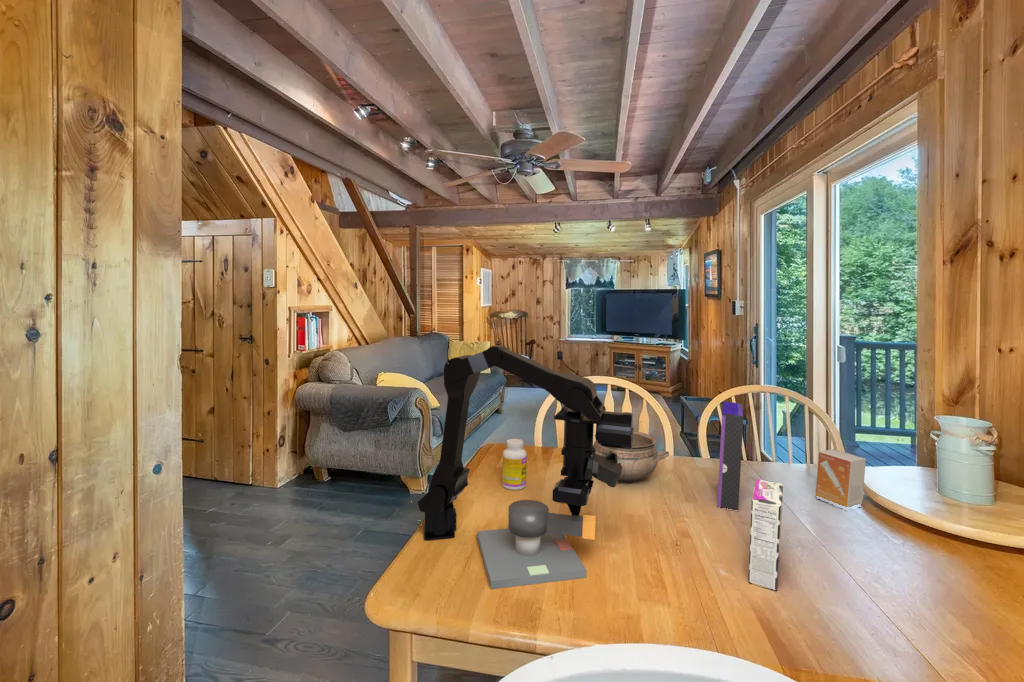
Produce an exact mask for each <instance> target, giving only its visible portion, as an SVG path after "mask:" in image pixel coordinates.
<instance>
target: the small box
mask: <svg viewBox="0 0 1024 682" xmlns="http://www.w3.org/2000/svg"><path fill="white" fill-rule="evenodd" d="M866 461H867V458H865V457H861V456H857V455H854V454H851V453H848V452H844V451H840V450H837V449H827V450H821V451H819V452H818V462H817V473H816V474H817V475H816V488H815V497H816V496H819V497H822V498H824V499H827V500H829V501H832V502H834V503H837V504H839V505H842V506H845V507H852V506H854V505H858V504H862V505H863V501H864V500H863V499H864V498H863V497H864V487H865V485H864V484H865V473H866V463H867V462H866Z"/></svg>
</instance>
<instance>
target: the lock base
mask: <svg viewBox="0 0 1024 682" xmlns="http://www.w3.org/2000/svg"><path fill="white" fill-rule="evenodd" d="M476 534H477V535H476V539H477V542H478V546H479V551H480V554H481V556H482V560H483V561H482V562H483V565H484V568H485V572H486V575H487V579H488V583H489V586H490V589H491V590H495V589H503V588H512V587H521V586H529V585H535V584H544V583H546V584H547V583H554V582H562V581H563V582H564V581H570V580H578V579H586V578H587V571H588V570H587V568H586V567H585V565H584V563H583V562H582V560H581V559H580V557H579V556H578V554H577V552H576V551H575V550H574V548H573V547H572V546H571V544H570V542H569V541H568V539H567V538H566V535H562V534H553V533H546V534H544V535H542V536H540V537H535V538H524V537H519V536H516V535H514V534H512V533H511V532H510V531H509V529H508V527H507V528H501V529H499V528H498V529H491V530H490V529H489V530H488V529H487V530H477V531H476Z"/></svg>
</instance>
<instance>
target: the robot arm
mask: <svg viewBox="0 0 1024 682" xmlns="http://www.w3.org/2000/svg"><path fill="white" fill-rule="evenodd" d="M493 367H497V368H499V369H501V370H502V371H504V372H505V371H506V372H507V373H509V374H511V375H514V376H515V377H517V378H520V379H522V380H524V381H526V382H527V383H530V384H532V385H534V386H537V387H539V388H541V389H542V390H544V391H546V392H547V393H549V394H550V395H551V396H552V397H553V398H554V399H555V400H556V401H557V402H559V403H560V404H562V405H563V406H562V407H561V409H560V410H559V411H558V412H557V413H555V415H554V416H553V419H554V420H557V421H564V423H563V446H562V448H561V456H562V466H561V469H560V476H563V478H562V479H560V480H558V481H557V482H556V483H555V485H554V487H553V489H552V497H551V498H552V500H551V501H553V502H555V503H559V504H566V505H567V507H568V509H569V511H570V515H577V516H581V510H582V507H585V506H587V505H588V502H589V497H590V494H591V493H592V488H593V486H594V483H595V482H594V480H593V478H594V479H596V480H597V481H600V482H602V483H603V484H605V485H607V486H608V487H610V488H616V486H617V484H618V482H619V481H618V480H619V477H620V475H621V473H622V466H621V463H619V464H618V459H617V454H615V453H613V452H609V453H608V454H606V455H605V456H604V455H602V456H600V455H598V454H596V448H595V447H594V427H595V434H596V438H595V441H596V440H598V443H601V446H604V447H612V448H620V449H628V450H632V443H633V431H634V428H635V427H634V426H633V425H634V424H633V423H634V422H633V415H634V414H633V413H632V412H629V411H628V412H627V411H625V412H617V411H606V410H607V409H606V406H605V405H604V403H603V402H602V401H601V399H600V397H599V396H598V395H597V391H598V389H597V387H596V385H595V383H594V382H593V380H591V379H589V378H588V377H583V376H581V375H577V374H572V373H566V372H561V371H557V370H554V369H552V368H550V367H548V366H545V365H544V364H541V363H539V362H536V361H535V360H533V359H530V358H528V357H526V356H524V355H522V354H520V353H517V352H515V351H514V350H511V349H509V348H507V347H506V346H505V345H502V344H498V345H493V346H490V347H488V348H487V349H485V350H483V351H480V352H478V353H475V354H472V355H471V354H464V355H461V356H457V357H453V358H450V359H449V360H448V361H446V362H445V363H444V365H443V387H444V389H445V392H446V395H447V403H446V409H445V410H446V411H445V417H444V418H445V419H444V426H443V433H442V441H441V447H440V448H441V449H440V457H439V462H438V463H437V466H436V467H435V469H434V471H433V474H432V476H431V479H430V482H429V486H428V492H427V493H426V494H425V495H424V496H422V497H421V498H420V499H419V500H418V501H417V505H418V508H419V511H420V513H424V515H423V517H424V521H425V522H424V521H423V523H424V524H423V539H424V541H432V540H433V541H434V540H442V539H452V538H455V536H456V535H455V531H457V510H456V507H455V506H454V501H457V499H458V496H459V495H461V494H462V493H463V492H464V490H465V488H466V487H468V486H469V482H468V477H469V473H470V468H468V467H464V465H463V460H462V458H463V452H464V451H463V450H464V443H465V437H466V431H467V430H466V429H467V422H468V416H469V415H468V414H469V413H468V412H469V407H470V406H469V405H470V399H471V397H472V395H473V393H474V391H475V389H476V387H477V385H478V382H479V378H480V376H481V372H484V371H485V370H489V369H491V368H493Z"/></svg>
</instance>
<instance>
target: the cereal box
mask: <svg viewBox="0 0 1024 682" xmlns="http://www.w3.org/2000/svg"><path fill="white" fill-rule="evenodd" d="M720 427H721V429H720V445H719V446H720V448H719V463H718V464H719V466H718V483H717V484H718V486H717V504H716V505H717V506H716V508H717V507H720V508H719V509H722V508H726V509H725V510H727V508H728V509H733V510H738V511H739V503H740V487H741V485H740V483H741V468H742V467H741V466H742V465H741V464H742V449H743V432H744V431H743V430H744V429H743V428H744V412H743V404H742V403H738V402H729V401H728V402H727V401H723V402H722V411H721V426H720ZM733 510H732V511H733Z"/></svg>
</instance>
